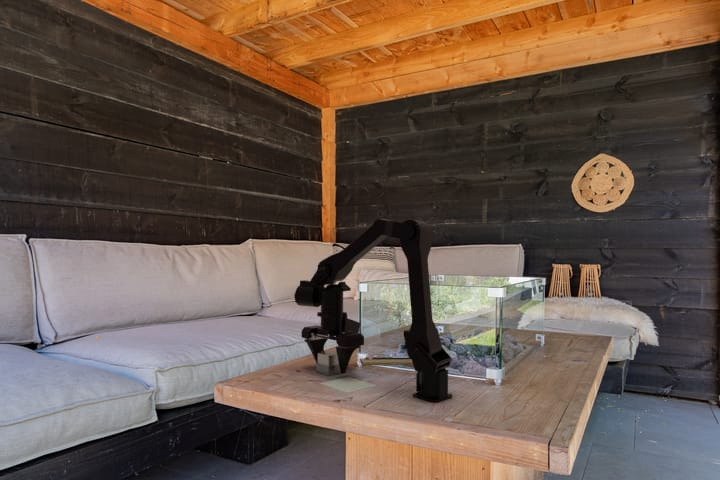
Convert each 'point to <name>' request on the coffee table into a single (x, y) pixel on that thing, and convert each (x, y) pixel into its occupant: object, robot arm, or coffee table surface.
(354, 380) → the stand
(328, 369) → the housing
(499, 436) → the coffee table surface
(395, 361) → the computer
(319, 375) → the stand
